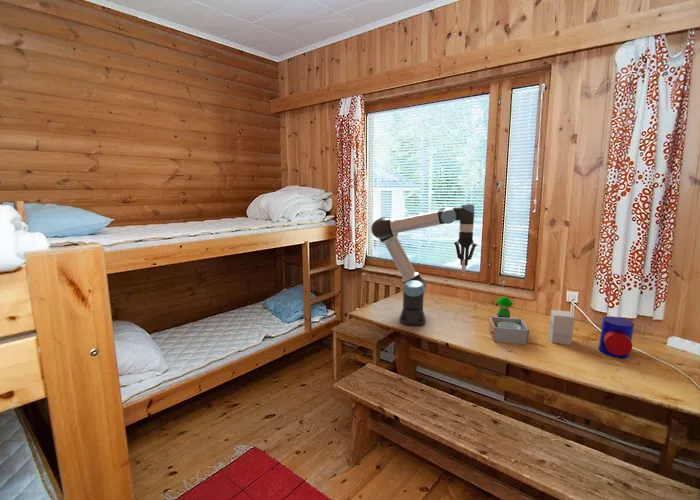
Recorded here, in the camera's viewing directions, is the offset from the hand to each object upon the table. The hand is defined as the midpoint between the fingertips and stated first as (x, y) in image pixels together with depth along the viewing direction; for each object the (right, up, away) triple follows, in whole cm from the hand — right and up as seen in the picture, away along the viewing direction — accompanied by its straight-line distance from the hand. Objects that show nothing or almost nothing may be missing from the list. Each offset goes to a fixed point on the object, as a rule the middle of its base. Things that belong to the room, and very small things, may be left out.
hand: (463, 270), depth 209 cm
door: (+9, -33, -17) cm, 38 cm away
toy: (+24, -30, +1) cm, 38 cm away
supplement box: (+42, -35, -24) cm, 60 cm away
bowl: (+17, -34, -19) cm, 43 cm away
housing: (+17, -34, -19) cm, 42 cm away
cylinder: (+61, -38, -37) cm, 80 cm away
